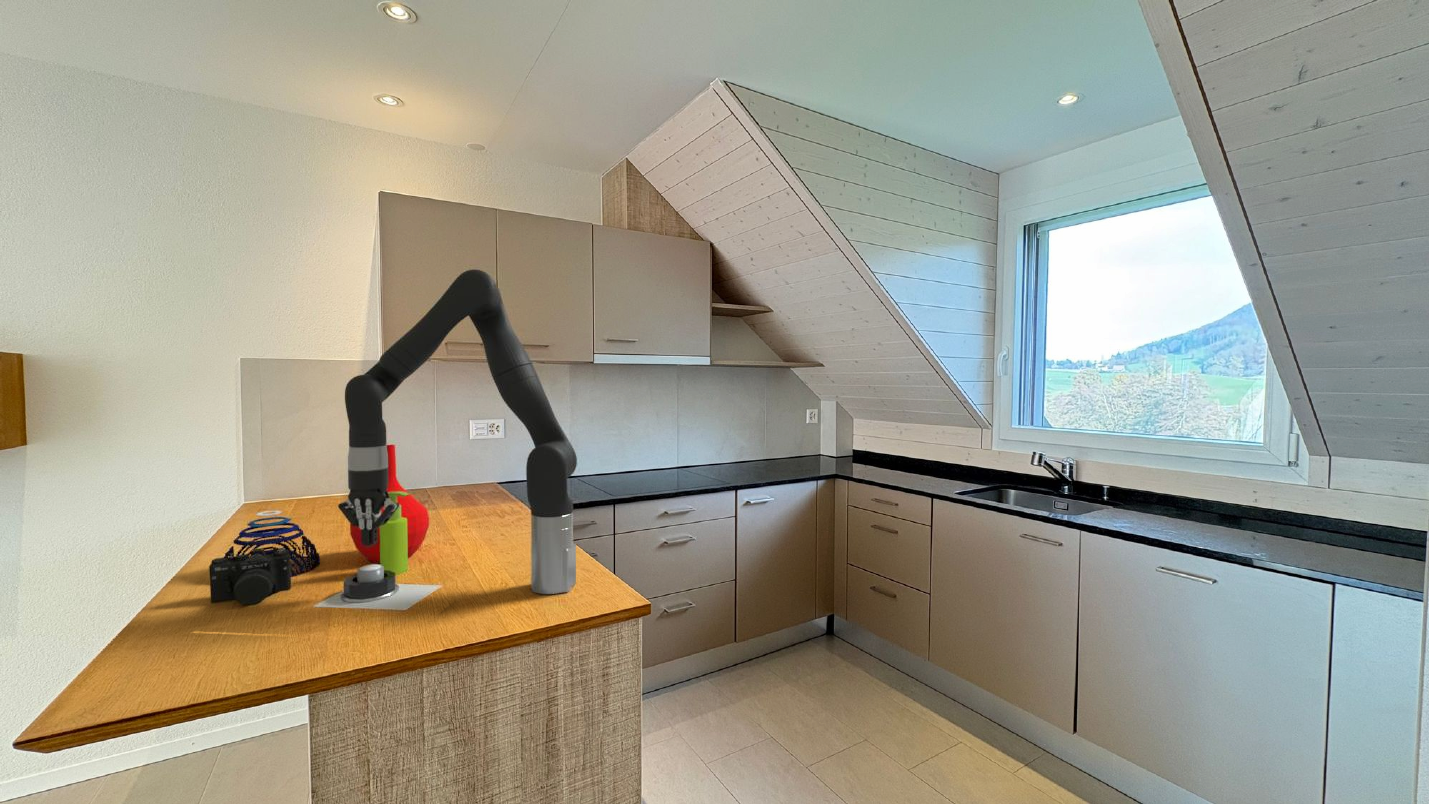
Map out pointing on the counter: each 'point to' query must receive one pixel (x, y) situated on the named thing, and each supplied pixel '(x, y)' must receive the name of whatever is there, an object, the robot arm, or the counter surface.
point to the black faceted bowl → (369, 589)
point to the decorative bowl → (278, 542)
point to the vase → (409, 510)
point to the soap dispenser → (394, 540)
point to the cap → (370, 573)
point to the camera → (250, 576)
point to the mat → (398, 601)
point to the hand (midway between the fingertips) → (369, 545)
